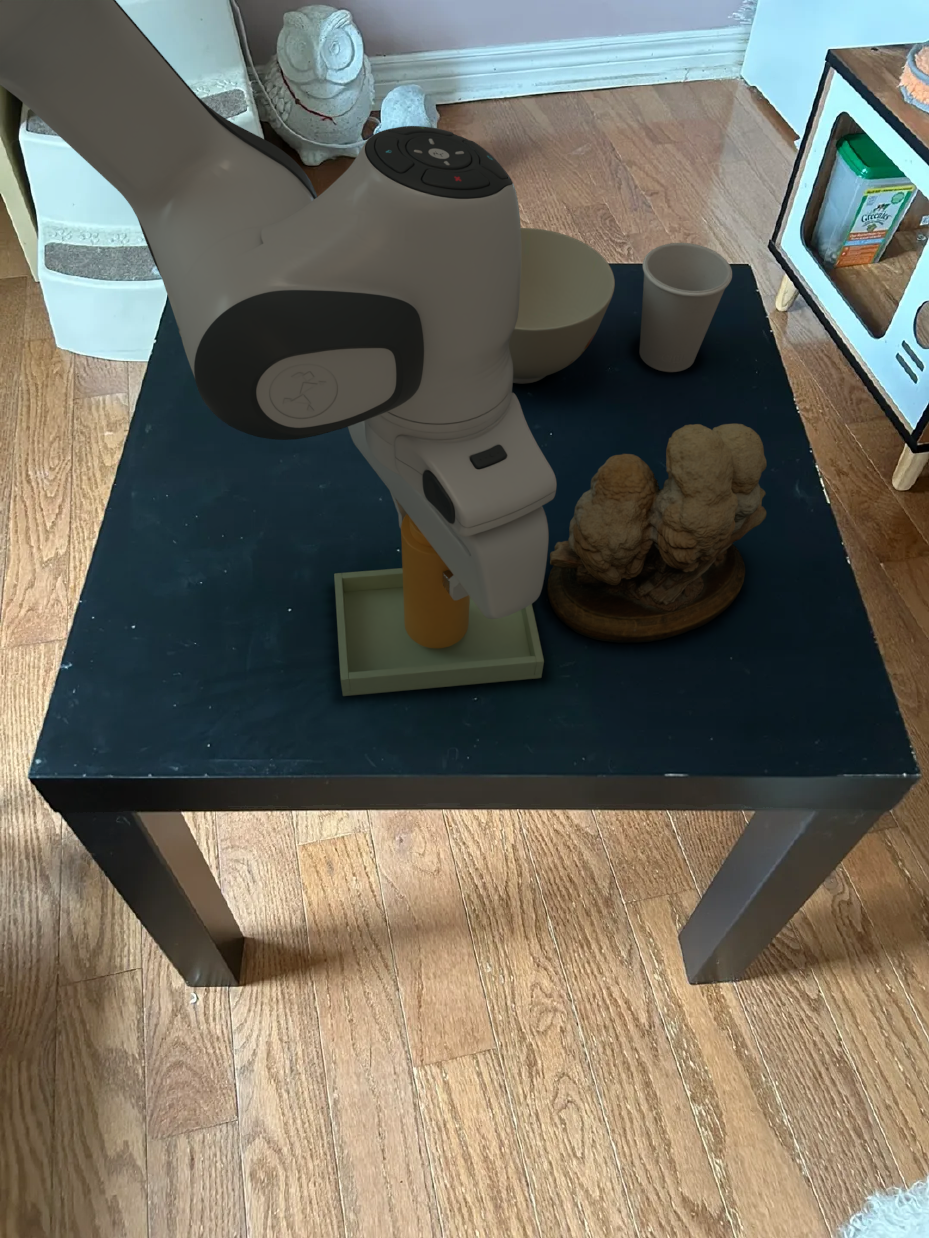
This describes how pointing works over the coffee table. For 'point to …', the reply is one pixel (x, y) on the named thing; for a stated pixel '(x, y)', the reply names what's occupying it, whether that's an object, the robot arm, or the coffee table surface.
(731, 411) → the coffee table surface
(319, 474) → the coffee table surface
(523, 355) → the bowl
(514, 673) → the tray
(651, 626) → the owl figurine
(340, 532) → the coffee table surface
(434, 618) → the bottle
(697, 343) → the dixie cup
